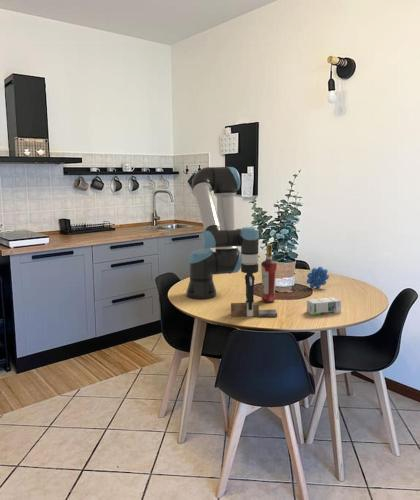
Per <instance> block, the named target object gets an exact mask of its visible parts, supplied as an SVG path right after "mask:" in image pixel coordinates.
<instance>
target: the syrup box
mask: <svg viewBox="0 0 420 500" xmlns="http://www.w3.org/2000/svg"><path fill="white" fill-rule="evenodd" d="M306 312H307V313H308V314H310V315H311V316H321V315H328V314H337V313H338V314H339V313H341V312H342V300H341V299H340V298H337V297H334V296H333V297H325V298H315V299H314V298H313V299H306Z"/></svg>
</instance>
